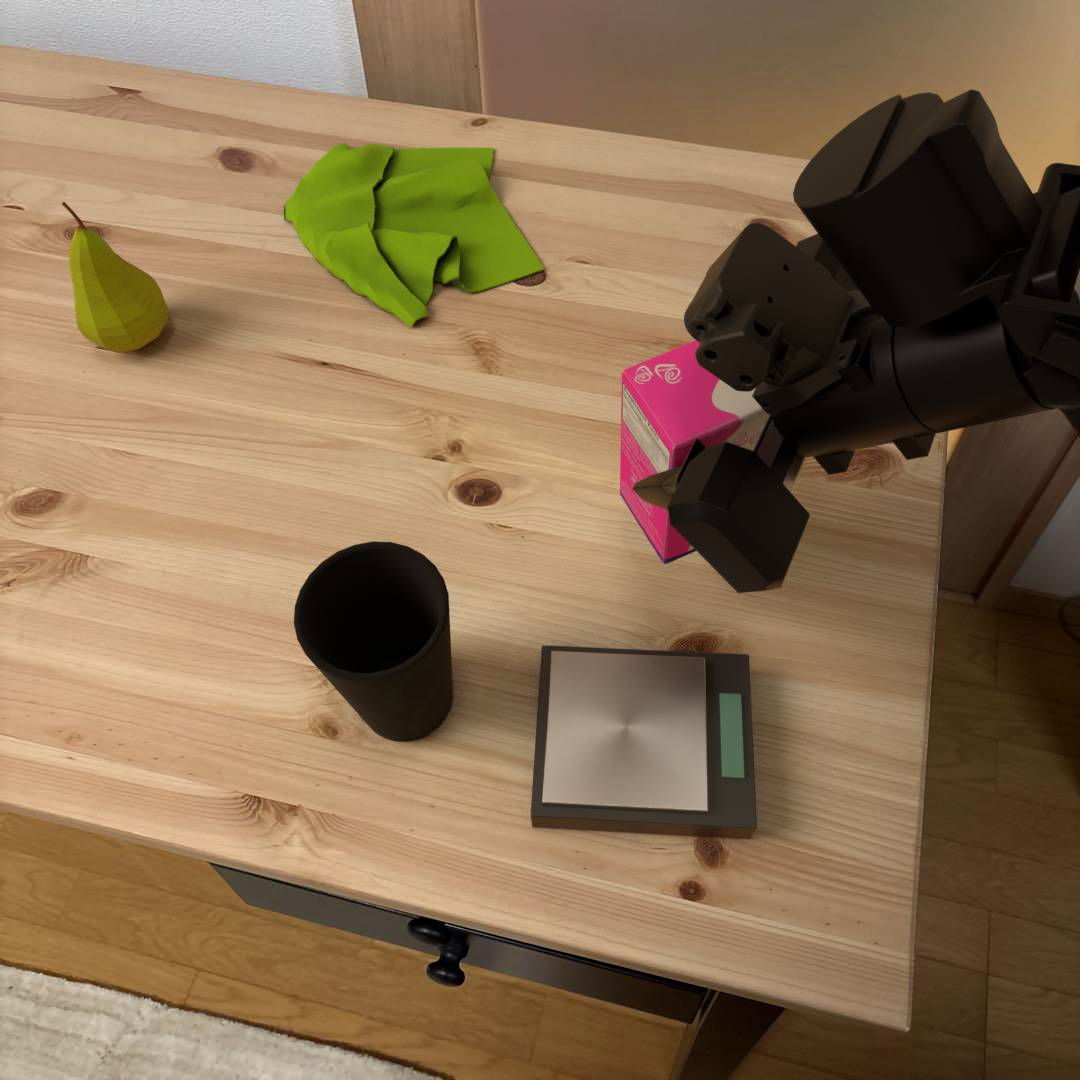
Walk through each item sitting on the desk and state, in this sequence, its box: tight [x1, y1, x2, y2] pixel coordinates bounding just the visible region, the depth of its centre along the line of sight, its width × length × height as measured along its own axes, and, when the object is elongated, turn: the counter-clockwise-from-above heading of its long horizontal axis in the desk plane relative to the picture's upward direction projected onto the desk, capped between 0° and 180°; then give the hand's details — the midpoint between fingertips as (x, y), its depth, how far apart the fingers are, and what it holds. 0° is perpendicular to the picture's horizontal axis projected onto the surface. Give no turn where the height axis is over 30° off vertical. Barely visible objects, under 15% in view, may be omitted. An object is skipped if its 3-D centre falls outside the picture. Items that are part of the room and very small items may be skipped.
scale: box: [530, 644, 758, 840], centre depth 56 cm, size 12×10×3 cm
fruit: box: [61, 201, 170, 354], centre depth 70 cm, size 6×6×12 cm
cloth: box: [283, 142, 545, 328], centre depth 78 cm, size 20×22×2 cm
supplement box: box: [619, 339, 769, 565], centre depth 55 cm, size 6×6×12 cm
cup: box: [293, 541, 454, 743], centre depth 54 cm, size 8×8×12 cm
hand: (667, 435), depth 54 cm, fingers closed on supplement box, 8 cm apart
